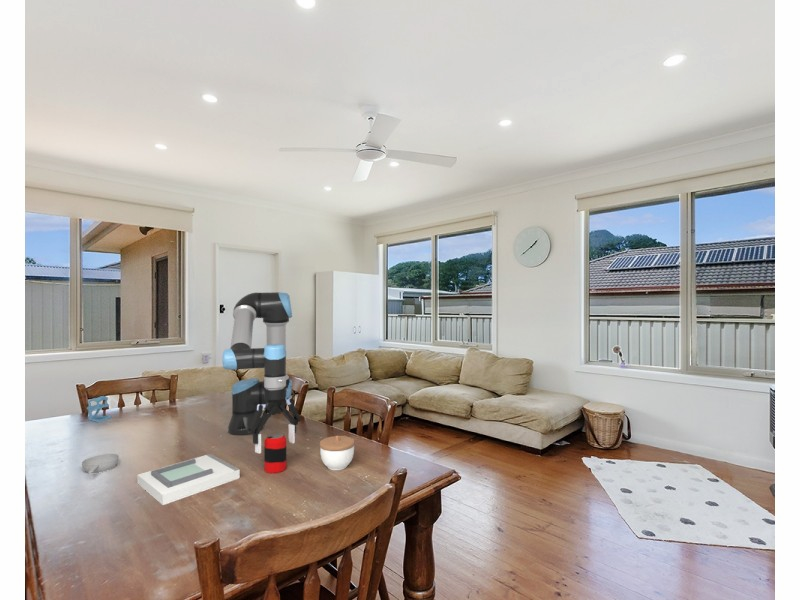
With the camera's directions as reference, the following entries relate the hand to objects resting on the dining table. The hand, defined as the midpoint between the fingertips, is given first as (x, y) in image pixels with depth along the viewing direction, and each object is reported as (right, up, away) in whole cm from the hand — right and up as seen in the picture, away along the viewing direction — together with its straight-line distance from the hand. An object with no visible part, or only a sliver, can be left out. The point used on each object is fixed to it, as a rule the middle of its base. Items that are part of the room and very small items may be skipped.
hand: (275, 447), depth 146 cm
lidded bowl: (+22, -8, +3) cm, 23 cm away
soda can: (0, -8, 0) cm, 8 cm away
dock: (-26, -8, -9) cm, 29 cm away
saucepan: (-62, -9, -2) cm, 63 cm away
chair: (-110, -9, +63) cm, 127 cm away
